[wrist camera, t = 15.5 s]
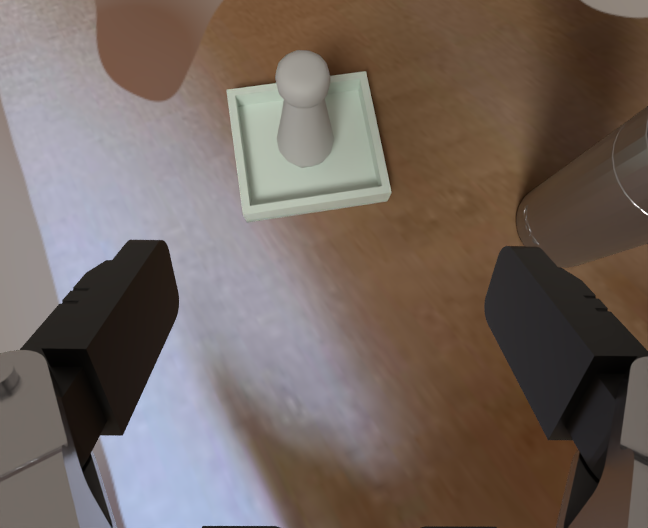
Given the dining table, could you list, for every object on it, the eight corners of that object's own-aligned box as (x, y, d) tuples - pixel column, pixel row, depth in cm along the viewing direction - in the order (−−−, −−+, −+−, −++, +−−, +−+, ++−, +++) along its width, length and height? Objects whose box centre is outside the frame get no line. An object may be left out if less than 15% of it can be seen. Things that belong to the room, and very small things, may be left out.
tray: (363, 86, 46) (365, 71, 43) (387, 201, 43) (391, 192, 40) (231, 103, 45) (226, 89, 42) (247, 222, 42) (242, 214, 40)
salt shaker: (278, 175, 42) (262, 101, 30) (279, 126, 44) (264, 35, 31) (333, 175, 43) (340, 102, 30) (332, 126, 44) (339, 35, 31)
